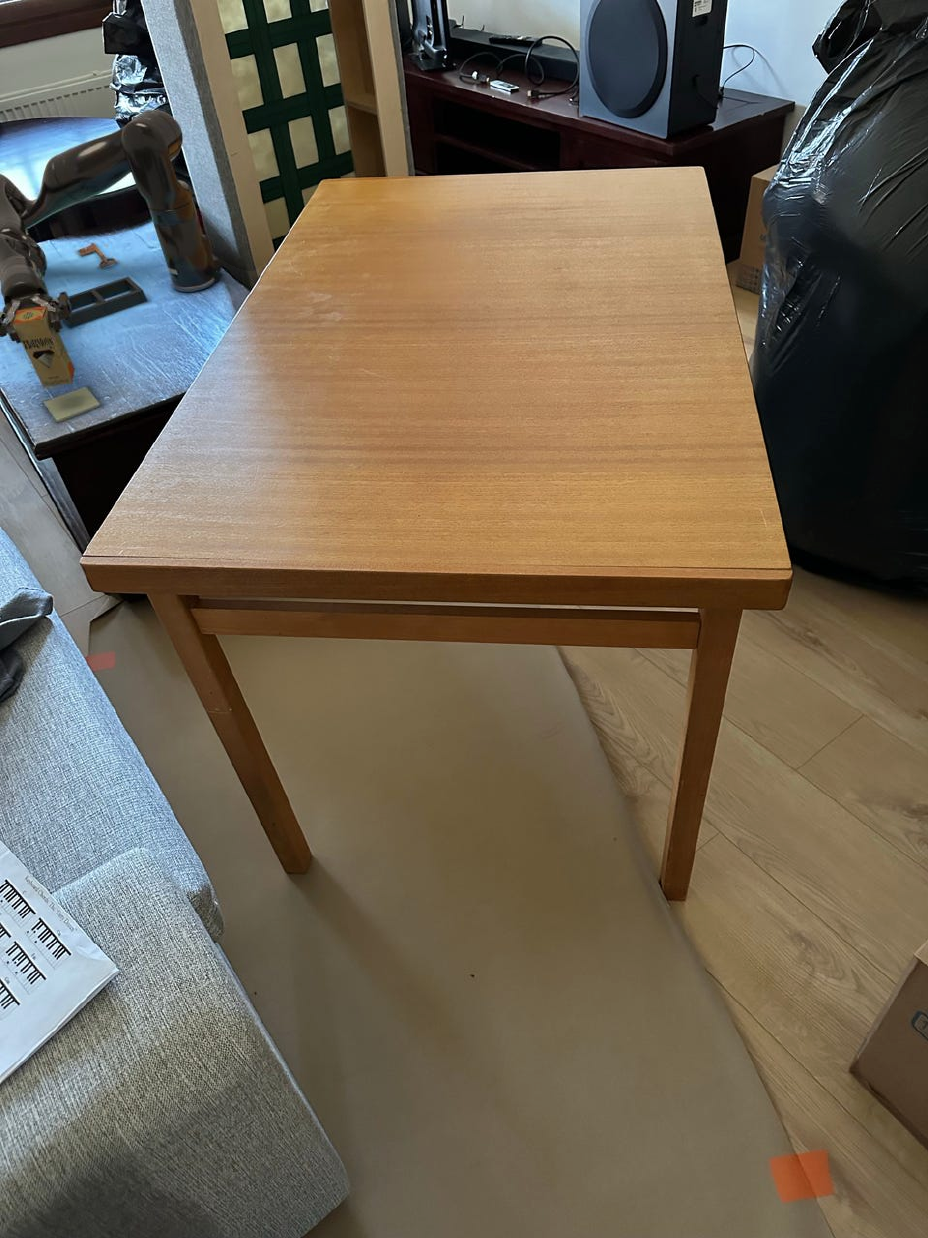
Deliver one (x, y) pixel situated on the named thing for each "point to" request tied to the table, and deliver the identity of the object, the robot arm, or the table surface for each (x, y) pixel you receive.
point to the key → (98, 253)
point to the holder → (101, 305)
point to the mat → (71, 404)
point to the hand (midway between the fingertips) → (36, 332)
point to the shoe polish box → (44, 346)
